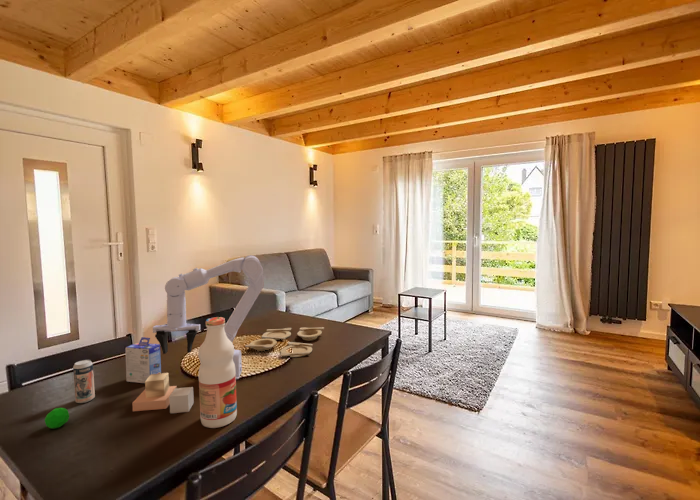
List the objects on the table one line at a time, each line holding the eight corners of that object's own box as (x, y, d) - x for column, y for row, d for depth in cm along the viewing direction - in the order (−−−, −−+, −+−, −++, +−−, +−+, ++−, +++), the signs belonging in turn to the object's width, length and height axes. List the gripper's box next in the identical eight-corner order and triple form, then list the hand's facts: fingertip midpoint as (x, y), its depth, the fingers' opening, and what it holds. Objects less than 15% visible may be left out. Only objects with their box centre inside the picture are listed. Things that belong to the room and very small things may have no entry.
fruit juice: (204, 412, 97) (200, 315, 95) (238, 407, 99) (235, 313, 97) (197, 431, 88) (192, 325, 86) (235, 426, 90) (231, 322, 88)
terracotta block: (177, 394, 108) (176, 385, 108) (166, 409, 99) (165, 400, 99) (146, 397, 107) (146, 388, 107) (132, 412, 98) (132, 402, 98)
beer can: (73, 405, 101) (70, 366, 100) (77, 398, 105) (74, 361, 105) (93, 401, 103) (90, 363, 103) (96, 394, 108) (94, 358, 107)
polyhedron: (42, 434, 88) (40, 416, 87) (49, 424, 92) (48, 407, 92) (66, 429, 90) (65, 411, 89) (72, 419, 94) (71, 402, 94)
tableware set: (269, 331, 173) (269, 323, 173) (326, 332, 169) (326, 324, 168) (237, 357, 138) (237, 347, 138) (307, 360, 134) (307, 350, 134)
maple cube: (169, 388, 106) (168, 372, 106) (164, 395, 102) (163, 379, 101) (151, 390, 105) (150, 374, 105) (146, 398, 100) (145, 381, 100)
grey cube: (193, 402, 102) (193, 386, 102) (188, 411, 98) (188, 395, 97) (176, 404, 102) (175, 388, 101) (170, 413, 97) (169, 396, 96)
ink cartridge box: (162, 377, 120) (160, 337, 119) (150, 384, 114) (148, 342, 113) (138, 375, 122) (136, 335, 121) (125, 382, 116) (123, 340, 115)
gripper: (148, 316, 109) (149, 357, 110) (196, 315, 112) (196, 355, 113) (157, 311, 116) (158, 349, 117) (201, 310, 119) (202, 348, 120)
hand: (177, 352), depth 115 cm, fingers open, 7 cm apart
